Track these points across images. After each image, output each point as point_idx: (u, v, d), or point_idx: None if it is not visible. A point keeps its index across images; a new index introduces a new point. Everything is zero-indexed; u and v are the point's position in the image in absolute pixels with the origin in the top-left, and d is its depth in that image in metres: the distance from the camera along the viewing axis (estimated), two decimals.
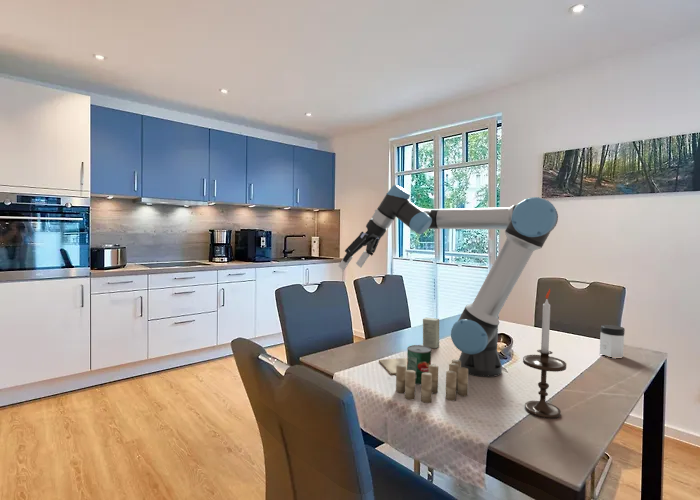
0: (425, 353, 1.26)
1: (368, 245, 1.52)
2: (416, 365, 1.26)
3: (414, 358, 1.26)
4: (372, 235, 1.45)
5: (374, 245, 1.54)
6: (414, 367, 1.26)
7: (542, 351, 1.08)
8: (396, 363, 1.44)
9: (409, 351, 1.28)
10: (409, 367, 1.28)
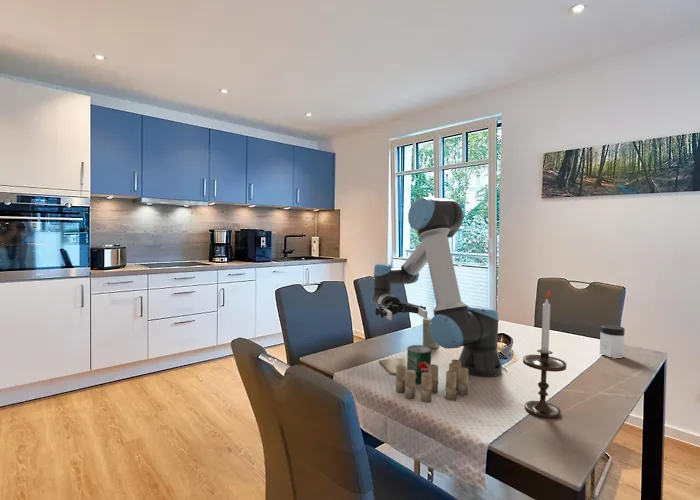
0: (425, 353, 1.26)
1: (409, 310, 1.49)
2: (416, 365, 1.26)
3: (414, 358, 1.26)
4: None
5: (416, 307, 1.50)
6: (414, 367, 1.26)
7: (542, 351, 1.08)
8: (396, 363, 1.44)
9: (409, 351, 1.28)
10: (409, 367, 1.28)
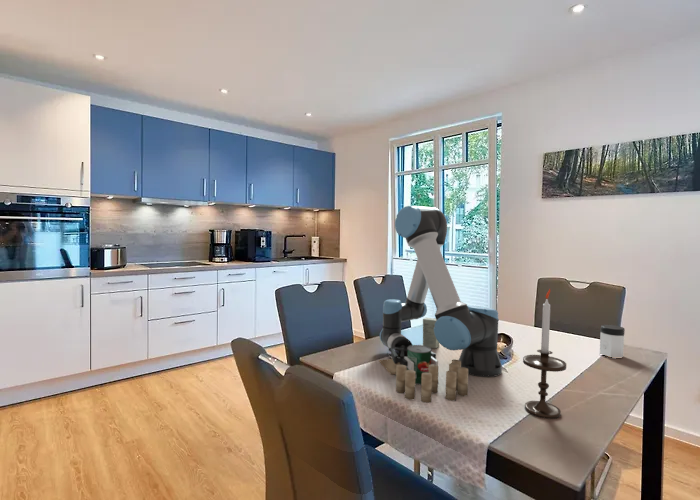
0: (425, 353, 1.26)
1: None
2: (416, 365, 1.26)
3: (414, 358, 1.26)
4: (399, 346, 1.42)
5: None
6: (414, 367, 1.26)
7: (542, 351, 1.08)
8: None
9: (409, 351, 1.28)
10: None
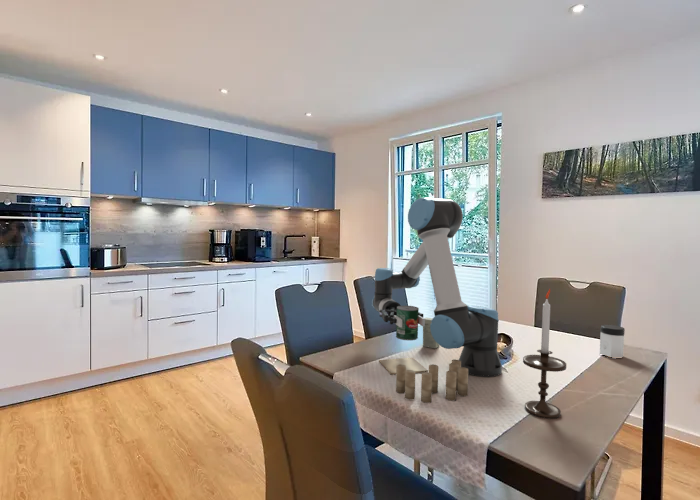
0: (412, 311, 1.36)
1: None
2: (405, 322, 1.36)
3: (402, 316, 1.36)
4: (390, 309, 1.52)
5: None
6: (402, 324, 1.37)
7: (542, 351, 1.08)
8: (396, 363, 1.44)
9: (398, 309, 1.38)
10: None
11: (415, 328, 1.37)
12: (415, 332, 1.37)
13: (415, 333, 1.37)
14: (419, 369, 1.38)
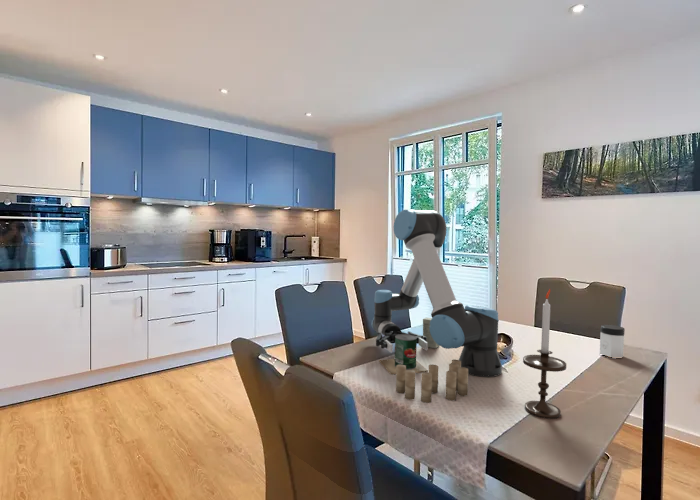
0: (410, 340, 1.37)
1: None
2: (403, 352, 1.38)
3: (401, 345, 1.38)
4: (390, 332, 1.53)
5: (416, 336, 1.50)
6: (401, 353, 1.38)
7: (542, 351, 1.08)
8: None
9: (397, 339, 1.39)
10: (396, 354, 1.40)
11: (413, 357, 1.38)
12: (413, 361, 1.39)
13: (413, 362, 1.39)
14: (419, 369, 1.38)
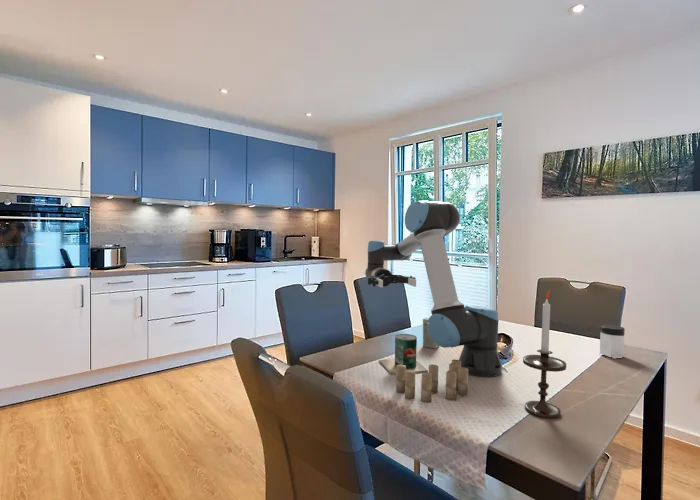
0: (410, 340, 1.37)
1: (400, 280, 1.59)
2: (403, 352, 1.38)
3: (401, 345, 1.38)
4: None
5: None
6: (401, 353, 1.38)
7: (542, 351, 1.08)
8: None
9: (397, 339, 1.39)
10: (396, 353, 1.40)
11: (413, 357, 1.38)
12: (413, 361, 1.39)
13: (413, 362, 1.39)
14: (419, 369, 1.38)
